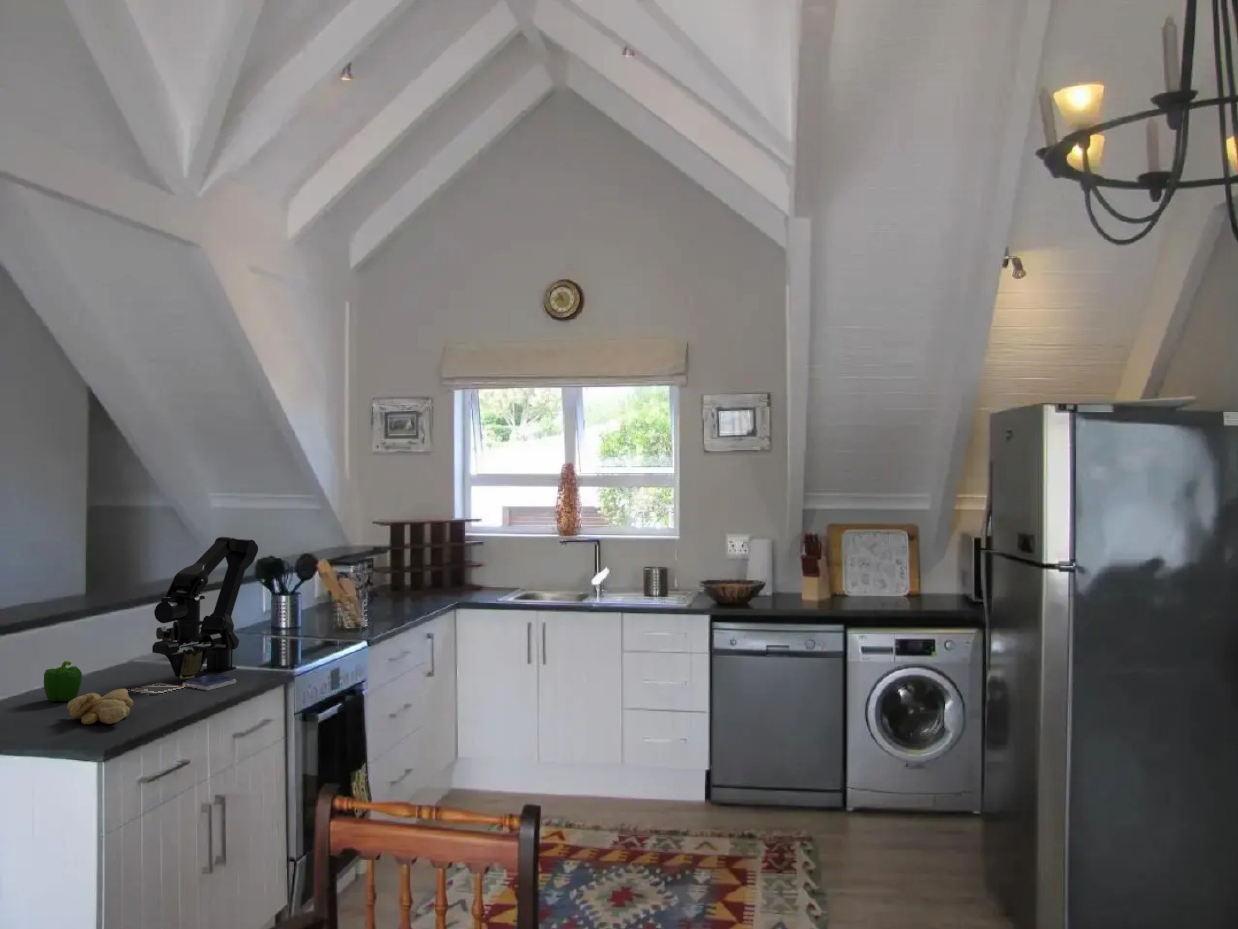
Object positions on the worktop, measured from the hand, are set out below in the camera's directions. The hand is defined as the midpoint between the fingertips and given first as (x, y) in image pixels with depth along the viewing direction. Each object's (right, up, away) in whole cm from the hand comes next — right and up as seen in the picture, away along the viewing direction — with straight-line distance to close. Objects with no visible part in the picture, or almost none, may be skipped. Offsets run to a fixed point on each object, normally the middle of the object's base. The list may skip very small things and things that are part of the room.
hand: (187, 674), depth 262 cm
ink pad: (+8, -2, -5) cm, 10 cm away
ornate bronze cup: (0, -2, 0) cm, 2 cm away
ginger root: (-2, -2, -41) cm, 41 cm away
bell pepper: (-21, -2, -24) cm, 31 cm away
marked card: (-3, -2, -11) cm, 11 cm away
